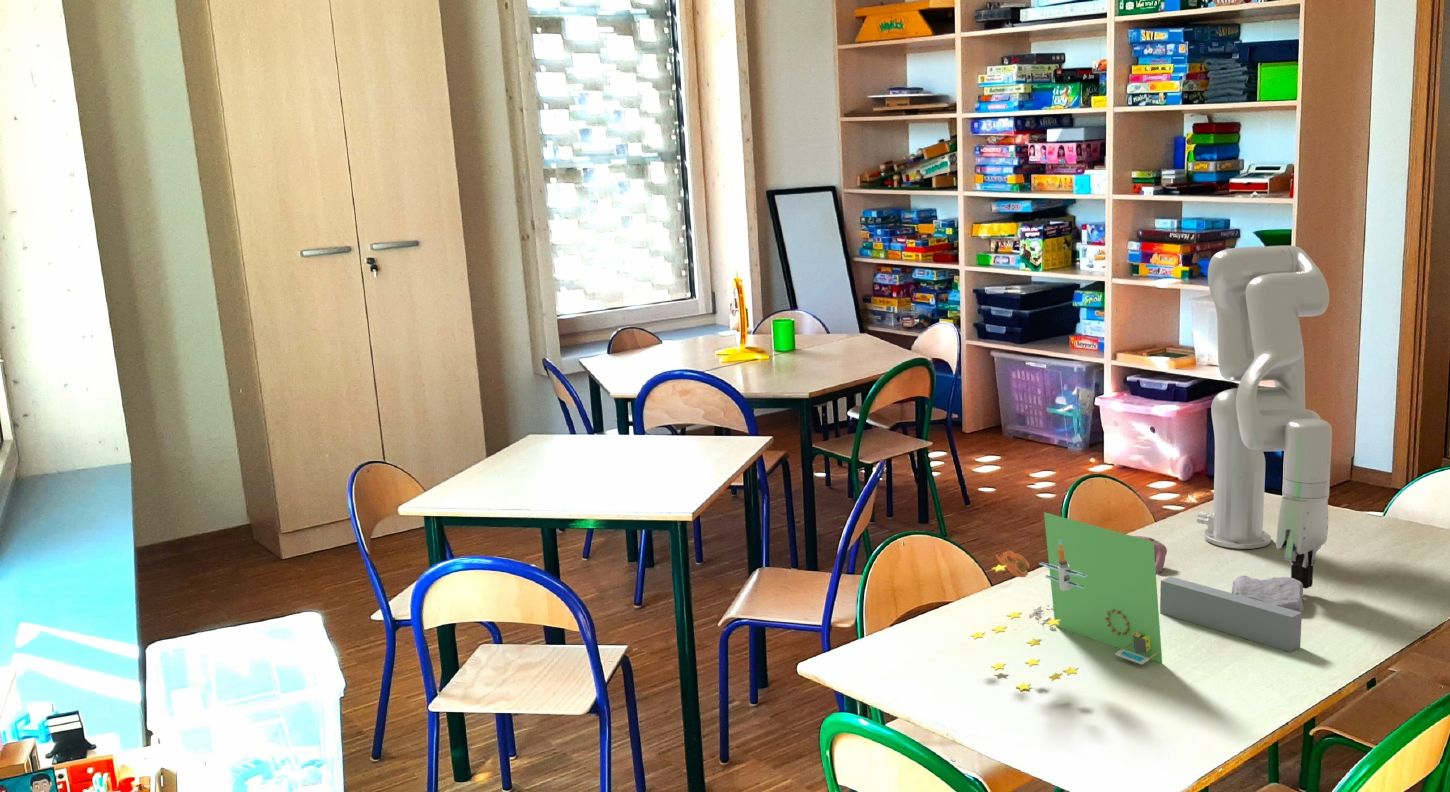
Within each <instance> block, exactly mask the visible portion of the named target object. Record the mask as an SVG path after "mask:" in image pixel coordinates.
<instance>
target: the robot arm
mask: <svg viewBox="0 0 1450 792" xmlns="http://www.w3.org/2000/svg"><path fill="white" fill-rule="evenodd" d="M1207 281H1208V282H1207V283H1208V287H1209V291H1210V295H1211V298H1212V300H1213V304H1214V308H1215V311H1216V319H1217V320H1216V321H1217V322H1216V325H1217V326H1216V329H1217V359H1218V362H1217V363H1218V370H1219V372H1220V375H1221V377H1222V378H1224V379H1225V380H1227V381H1230V382H1239V384H1238V387H1237V388H1230V389H1226V390H1223V391H1221V392H1218V394H1216V395H1215V396H1214V398H1213V400H1212V402H1211V410H1210V411H1211V412H1210V413H1211V420H1212V426H1213V433H1214V434H1213V435H1214V478H1213V481H1214V482H1213V504H1212V505H1213V509H1212V514H1211V513H1209V512H1207V511H1199V512H1198V514H1197V517H1196V522H1197V524H1201V525H1206V526H1207V529H1206V530H1205V531H1204V534H1203V535H1204V539H1205V540H1206V541H1207V542H1208V543H1210V544H1212V545H1215V546H1218V547H1223V548H1229V549H1237V550H1238V549H1239V550H1251V549H1258V548H1264V547H1266V546H1268V545H1270V543H1271V538H1272V537H1271V534H1269V533H1268V532H1267V531H1265V530H1264V512H1265V511H1264V507H1265V487H1266V486H1265V481H1266V457H1265V454H1264V452H1282V451H1283V452H1284V453H1283V474H1282V475H1283V478H1282V498H1281V501H1280V502H1281V503H1280V507H1279V511H1278V517H1277V518H1278V519H1277V528H1276V541H1275V545H1276V549H1277V550H1279V551H1282V550H1284V549H1285V553H1284V560H1285V561H1289V563H1290V564H1289V565H1291V570H1290V578H1294V579H1296V580H1298V581H1300V582H1301V583H1302V584H1303V589H1305V590H1306V589H1309V588H1311V587H1313V583H1314V582H1313V581H1314V578H1313V577H1314V565H1315V563H1316V555H1317V552H1319V550H1320V549H1321V547H1322V546H1323V545H1324V544H1325V543H1326V542H1327V539H1328V532H1329V531H1328V530H1329V503H1328V500H1329V498H1330V483H1331V481H1330V480H1331V464H1332V463H1331V462H1332V460H1331V459H1332V445H1333V443H1332V441H1333V440H1332V439H1333V428H1332V425H1331V424H1330V423H1329V422H1328V421H1326V420H1324V419H1322V417H1321V416H1320V415H1319V414H1318V413H1317V412H1316V411H1315V410H1311V409H1306V377H1305V376H1306V375H1305V374H1306V371H1305V370H1306V368H1305V367H1306V366H1305V355H1304V353H1305V351H1304V349H1305V347H1304V344H1303V338H1302V337H1303V336H1302V332H1301V324H1300V319H1299V318H1304V317H1317V316H1322V315H1323V314H1324V313H1325V312H1326V311H1327V309H1328V307H1329V304H1330V289H1329V287H1328V283H1327V280H1326V278H1325V276H1324V274H1323V273H1322V271H1321V270H1320V268H1319V267H1318V266H1317V265H1316V264H1315V262H1314V261H1313V259H1312V258H1311V257H1310V256H1309V255H1308V253H1307V252H1306V251H1305V250H1304V249H1303V248H1301V247H1299V246H1295V245H1269V246H1267V245H1266V246H1241V247H1233V248H1226V249H1223V250H1220V251H1218V252H1216V253H1215V254H1213V256H1212V257H1211V258H1210V261H1209V263H1208V268H1207ZM1261 381H1262V382H1263V381H1265V382H1267V381H1273V383H1274V386H1271V387H1268V386H1267V387H1259V385H1260V383H1261Z"/></svg>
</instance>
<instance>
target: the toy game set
mask: <svg viewBox="0 0 1450 792" xmlns="http://www.w3.org/2000/svg"><path fill="white" fill-rule="evenodd" d="M1043 517H1044V526H1045V527H1044V528H1045V536H1046V538H1045V539H1046V544H1047V545H1046V546H1047V547H1046V548H1047V556H1048V563H1046V562H1044V561H1043V562H1042V561H1040V562H1039V563H1038V565H1040V566H1043V567H1045V568H1046V569H1049V575H1048V574H1046V575H1045V578H1046V579H1049V580H1050V589H1051V596H1052V597H1051V598H1052V606H1053V607H1052V608H1053V609H1052V610H1053V618H1050V619H1049V620H1048V621H1045V623H1044V625H1045V624H1046V625H1049V628H1050V627H1051V626H1053V627H1054V626H1056V627H1058V628H1061V629H1064V630H1066V631H1069V632H1072V633H1075V634H1078V635H1080V636H1083V637H1085V638H1089V639H1093V640H1095V641H1098V642H1101V643H1104V644H1106V645H1109V646H1112V647H1115V648H1118V649H1119V650H1117V652H1115V653H1114V654H1115V655H1114V656H1117V657H1120V658H1122V659H1125V660H1128V661H1130V662H1134V663H1136V664H1139V665H1144V664H1145V663H1147V662H1148V661H1150V660H1151V661H1155V662H1157V663H1160V664H1163V657H1162V655H1163V654H1162V642H1161V641H1162V640H1161V626H1160V610H1159V600H1158V599H1159V598H1158V586H1157V585H1158V583H1157V572H1156V569H1155V555H1154V542H1153V541H1149V540H1146V539H1142V538H1138V537H1134V536H1135V535H1130V534H1126V533H1123V532H1119V531H1114V530H1111V529H1107V528H1104V527H1100V526H1096V525H1093V524H1089V523H1085V522H1082V521H1078V520H1074V519H1070V518H1066V517H1062V516H1059V515H1055V514H1052V513H1048V512H1043ZM995 556H996V559H997V560H998V562H999V563H1000V564H998V565H996V566H994V567H991V570H992V571H995V573H998V572H1000V571H1001V572H1002V571H1003V572H1005V571H1006V569H1007V571H1009V573H1011V574H1012V575H1014V576H1016V577H1018V578H1026V577H1027V576H1028V575H1029V572H1028V571H1027V569H1029V568H1030V563H1029V562H1028V560H1027V559H1026V557H1024V556H1023V555H1021V554H1020V553H1016V552H1014V551H1012V550H1007V551H1003V552H1002V554H1000V555H998V554H997V553H996V554H995ZM1008 557H1010V558H1011V560H1012V561H1009V559H1008ZM1022 613H1023V612H1022V611H1020V612H1015V611H1012V613H1008V614H1006V617H1008V618H1010V620H1013V619H1021V616H1020V615H1022ZM1007 628H1008V626H1006V625H1005V626H1001V625H997V626H996V627H994V628H992V629H991V631H994V632H995V634H996V635H997V634H998V633H1006V629H1007ZM984 635H986V632H985V631H984V632H979V631H976V632H975V633H973V634H970V637H971V638H973V641H974V640H977V639H983V638H984ZM1042 641H1043V639H1041V638H1040V639H1036V638H1034V637H1032V639H1031V640H1028V641H1026V644H1028V645H1030V647H1033V646H1041V643H1040V642H1042ZM1040 661H1041V659H1040V658H1039V659H1034V658H1033V657H1031V658H1030V660H1028V661H1024V664H1026V665H1028V667H1029V668H1031V667H1033V666H1039V665H1040V664H1039V662H1040ZM1006 665H1007V663H1005V662H1004V663H1000V662H997V663H996V664H995V665H991V666H990V668H992V669H994V671H995V672H996V671H998V670H1005V666H1006ZM1078 670H1079V667H1074V668H1073V667H1071V666H1068V668H1067V669H1063V670H1062V672H1063V673H1066V677H1068V676H1071V675H1078V672H1077V671H1078ZM1063 673H1057V672H1055V673H1054V674H1053V675H1050V676H1048V678H1049V679H1051V682H1053V681H1055V680H1061V676H1063V675H1064V674H1063ZM1030 686H1032V683H1025V682H1021V684H1020V685H1017V686H1015V689H1019V692H1022V691H1023V692H1024V691H1026V690H1028V691H1030Z"/></svg>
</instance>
